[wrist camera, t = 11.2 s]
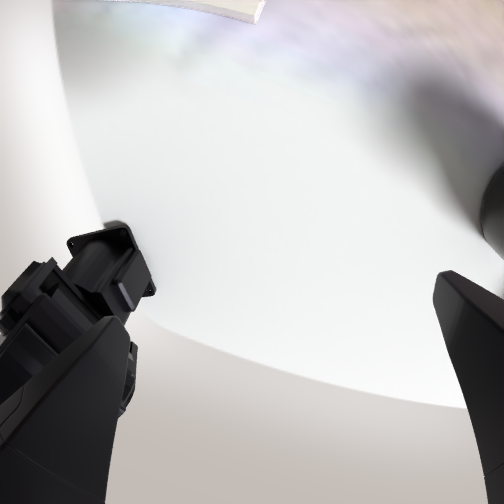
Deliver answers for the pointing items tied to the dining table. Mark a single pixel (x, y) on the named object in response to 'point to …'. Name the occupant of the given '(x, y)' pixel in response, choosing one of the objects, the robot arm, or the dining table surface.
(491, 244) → the ink bottle
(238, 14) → the trivet
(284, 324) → the dining table surface
